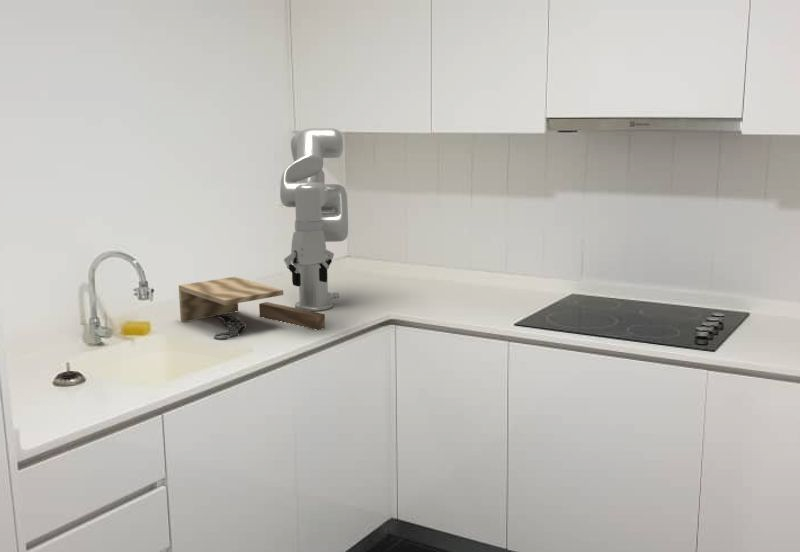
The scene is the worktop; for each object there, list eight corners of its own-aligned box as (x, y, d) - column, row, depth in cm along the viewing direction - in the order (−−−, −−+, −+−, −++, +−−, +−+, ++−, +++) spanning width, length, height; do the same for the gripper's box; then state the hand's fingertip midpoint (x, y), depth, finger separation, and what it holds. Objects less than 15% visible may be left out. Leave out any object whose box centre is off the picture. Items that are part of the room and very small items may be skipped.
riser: (236, 310, 273) (234, 276, 270) (284, 327, 252) (283, 290, 250) (180, 321, 260) (178, 285, 257) (226, 339, 239) (224, 300, 237)
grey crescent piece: (214, 314, 265) (246, 310, 266) (215, 318, 265) (246, 315, 267) (209, 338, 238) (244, 334, 239) (209, 343, 238) (244, 340, 239)
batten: (267, 315, 267) (266, 301, 266) (325, 328, 251) (324, 314, 250) (259, 317, 265) (259, 303, 264) (317, 331, 249) (317, 316, 248)
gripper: (324, 223, 252) (325, 278, 255) (277, 228, 241) (278, 285, 244) (339, 225, 247) (340, 281, 250) (291, 230, 236) (293, 289, 239)
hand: (310, 283), depth 247 cm, fingers open, 9 cm apart
